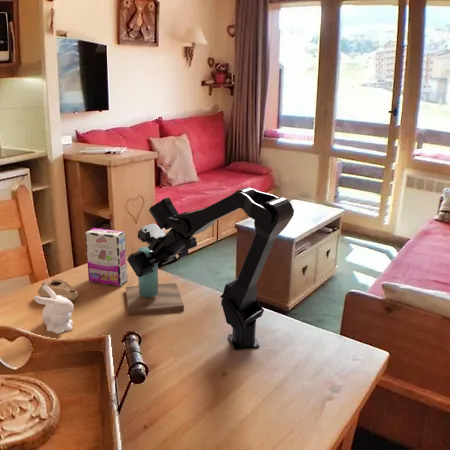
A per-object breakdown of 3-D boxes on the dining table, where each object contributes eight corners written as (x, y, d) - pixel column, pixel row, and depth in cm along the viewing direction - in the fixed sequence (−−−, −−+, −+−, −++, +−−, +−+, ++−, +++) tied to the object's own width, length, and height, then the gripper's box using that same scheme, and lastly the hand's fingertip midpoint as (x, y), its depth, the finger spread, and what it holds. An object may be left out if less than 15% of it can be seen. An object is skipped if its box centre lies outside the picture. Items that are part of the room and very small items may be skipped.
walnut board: (183, 310, 143) (183, 305, 143) (129, 315, 140) (128, 310, 139) (175, 287, 157) (175, 282, 156) (126, 291, 154) (125, 286, 153)
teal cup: (153, 298, 143) (152, 255, 139) (135, 295, 145) (133, 252, 141) (161, 289, 148) (160, 247, 144) (144, 287, 150) (142, 245, 146)
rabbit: (78, 333, 130) (75, 290, 127) (39, 341, 126) (34, 297, 123) (69, 312, 141) (66, 272, 137) (33, 319, 137) (28, 278, 133)
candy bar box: (128, 280, 160) (126, 231, 155) (120, 287, 156) (118, 236, 151) (96, 275, 164) (93, 226, 158) (87, 281, 159) (84, 231, 154)
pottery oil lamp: (67, 310, 141) (52, 290, 138) (44, 310, 149) (29, 291, 146) (88, 288, 147) (74, 269, 144) (65, 290, 155) (51, 272, 152)
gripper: (180, 209, 144) (153, 237, 154) (130, 226, 130) (104, 255, 140) (202, 242, 142) (173, 269, 152) (153, 262, 128) (125, 290, 138)
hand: (144, 270), depth 145 cm, fingers closed on teal cup, 5 cm apart
